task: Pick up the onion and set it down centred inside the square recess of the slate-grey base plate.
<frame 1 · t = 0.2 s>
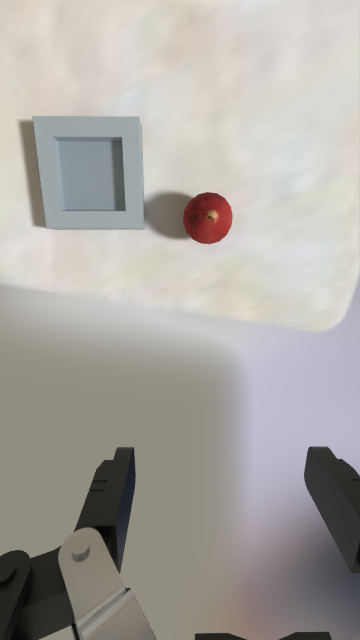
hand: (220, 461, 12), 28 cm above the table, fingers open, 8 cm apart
onion: (204, 221, 36), on the table
base plate: (96, 180, 35), on the table
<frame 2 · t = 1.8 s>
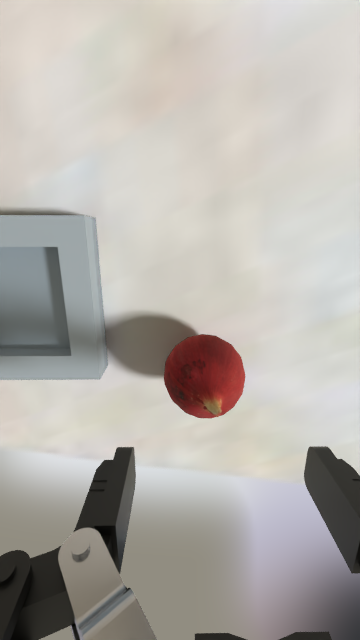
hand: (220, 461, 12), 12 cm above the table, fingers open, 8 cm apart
onion: (199, 352, 24), on the table
base plate: (27, 297, 22), on the table
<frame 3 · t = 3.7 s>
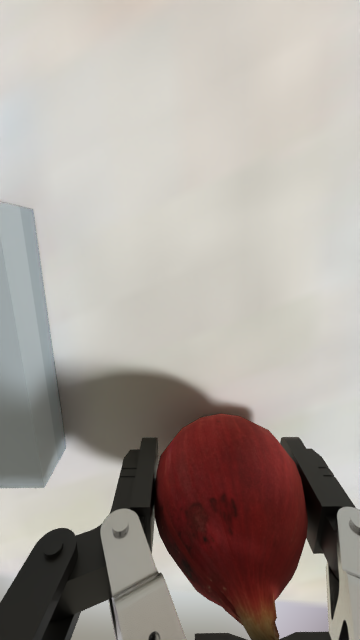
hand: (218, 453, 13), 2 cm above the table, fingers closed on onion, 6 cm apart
onion: (214, 428, 15), on the table, touching gripper
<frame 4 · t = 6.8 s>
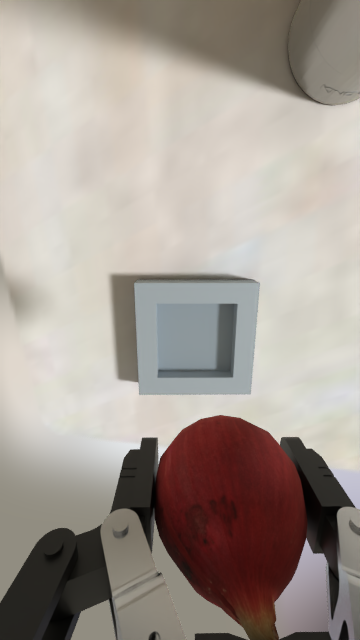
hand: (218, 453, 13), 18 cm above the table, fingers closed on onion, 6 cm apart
onion: (213, 429, 15), point 16 cm above the table, touching gripper
base plate: (194, 334, 30), on the table
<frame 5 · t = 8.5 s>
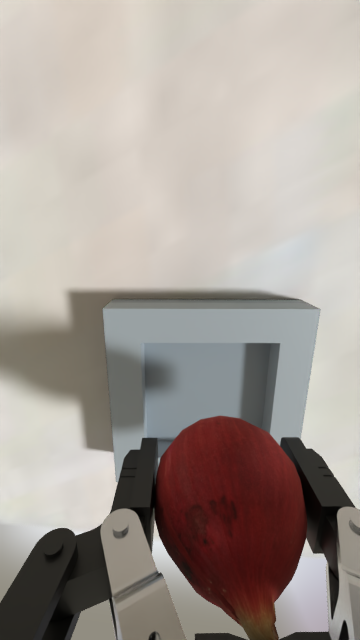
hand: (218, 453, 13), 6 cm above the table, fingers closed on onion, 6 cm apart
onion: (213, 429, 15), point 5 cm above the table, touching gripper
base plate: (204, 383, 19), on the table
when the fingers open (4 cm above the table, at t = 10.0 s): onion drops 1 cm, resting on base plate.
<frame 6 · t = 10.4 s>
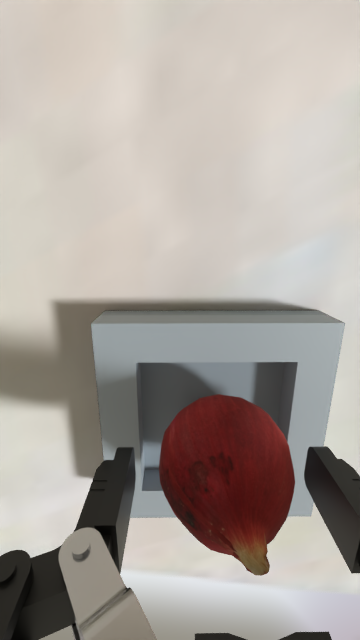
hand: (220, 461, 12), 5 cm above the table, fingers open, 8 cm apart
onion: (211, 413, 16), point 1 cm above the table, touching base plate
base plate: (208, 404, 17), on the table
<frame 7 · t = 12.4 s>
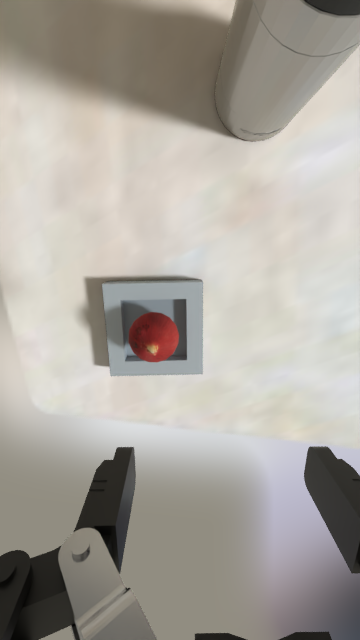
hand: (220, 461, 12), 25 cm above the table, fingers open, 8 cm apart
onion: (156, 327, 35), point 1 cm above the table, touching base plate
base plate: (156, 325, 36), on the table
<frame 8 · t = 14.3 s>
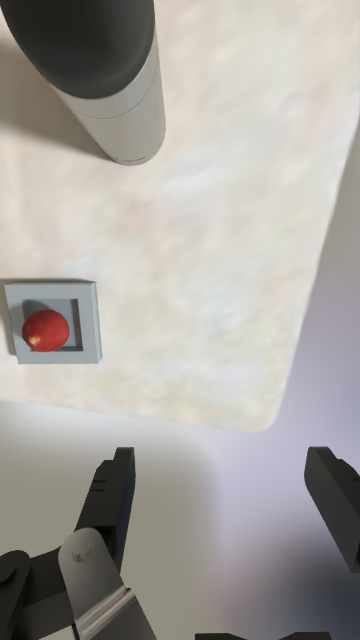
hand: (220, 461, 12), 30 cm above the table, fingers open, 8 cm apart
onion: (58, 322, 41), point 1 cm above the table, touching base plate
base plate: (60, 321, 42), on the table
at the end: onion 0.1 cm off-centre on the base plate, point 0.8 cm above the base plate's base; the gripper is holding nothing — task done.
